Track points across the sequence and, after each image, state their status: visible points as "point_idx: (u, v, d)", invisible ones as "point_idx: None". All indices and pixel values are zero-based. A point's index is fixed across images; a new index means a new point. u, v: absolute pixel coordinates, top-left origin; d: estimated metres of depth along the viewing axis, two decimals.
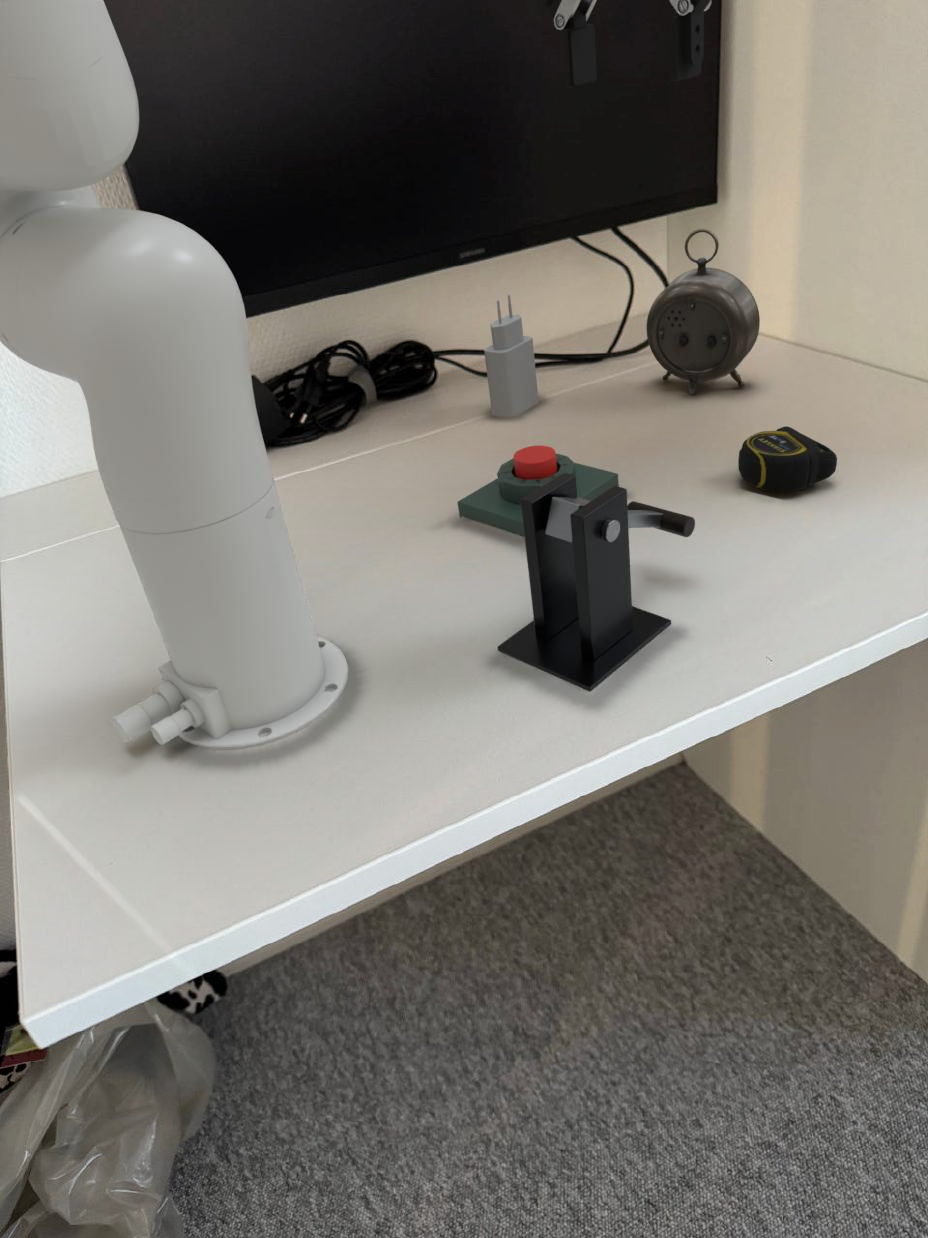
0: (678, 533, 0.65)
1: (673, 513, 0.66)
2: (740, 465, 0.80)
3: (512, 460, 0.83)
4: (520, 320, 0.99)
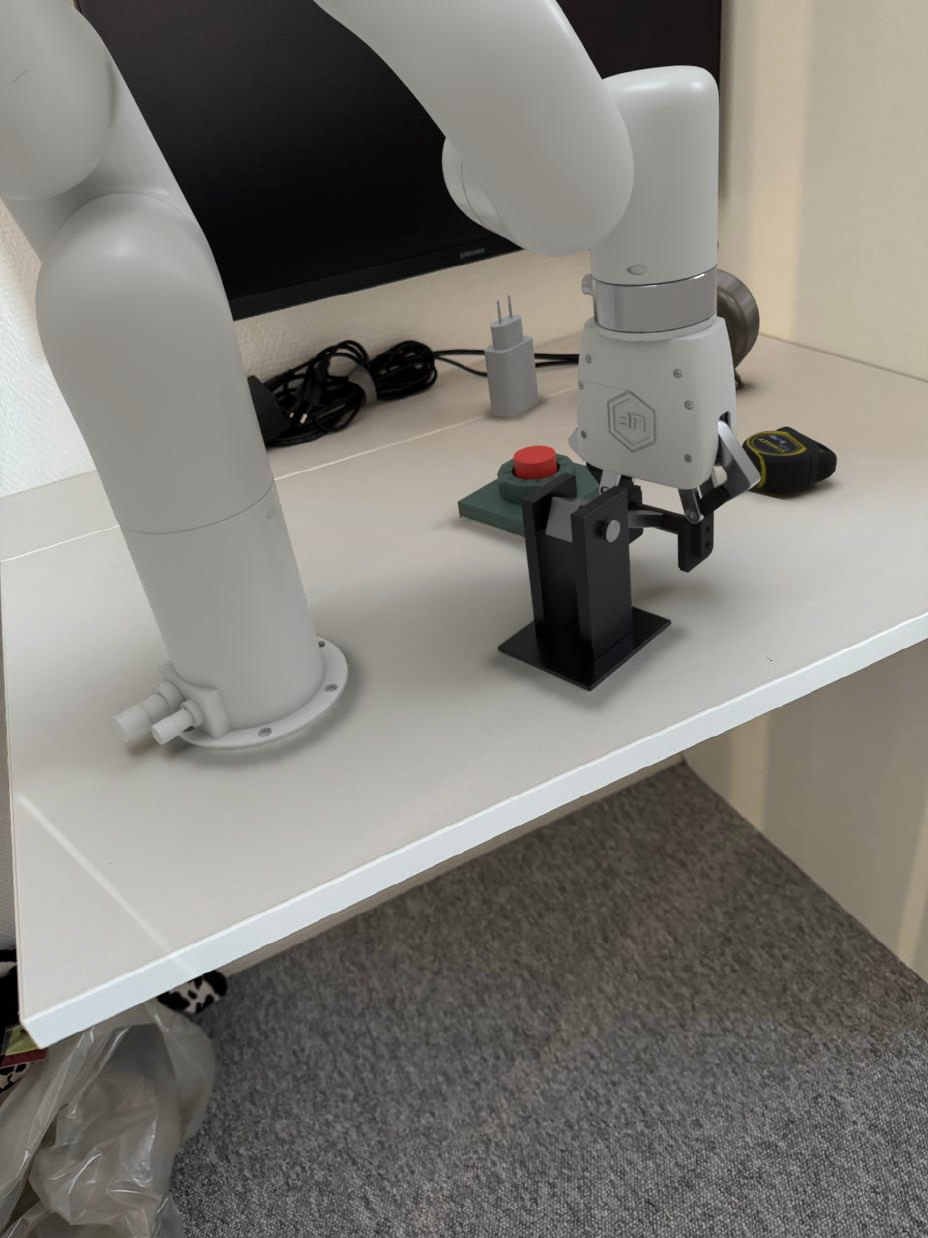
0: None
1: (673, 513, 0.66)
2: None
3: (512, 460, 0.83)
4: (520, 320, 0.99)
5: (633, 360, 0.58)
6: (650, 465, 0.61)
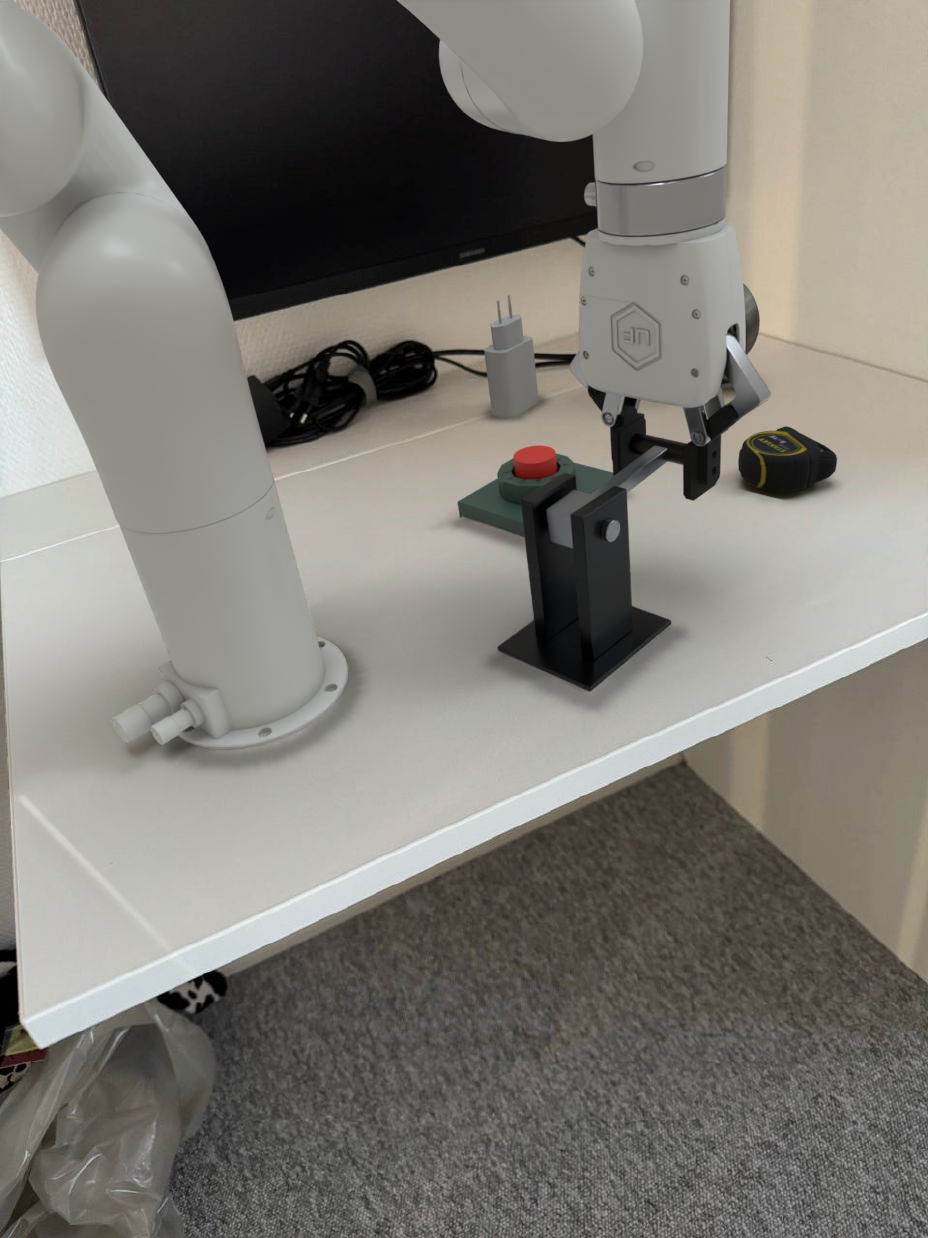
0: None
1: (677, 446, 0.63)
2: (740, 465, 0.80)
3: (512, 460, 0.83)
4: (520, 320, 0.99)
5: (638, 269, 0.56)
6: (655, 383, 0.59)
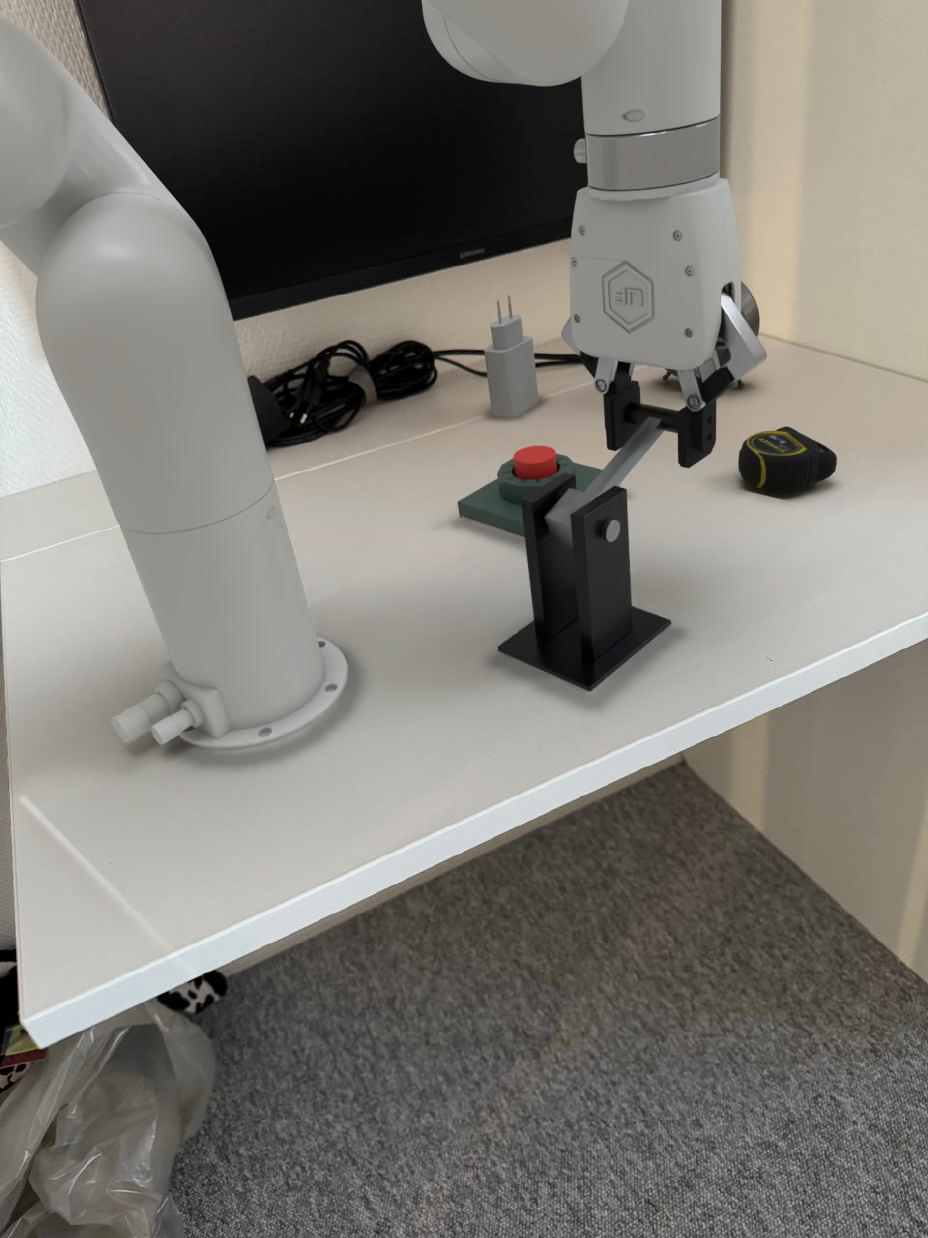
0: None
1: (671, 416, 0.62)
2: (740, 465, 0.80)
3: (512, 460, 0.83)
4: (520, 320, 0.99)
5: (629, 226, 0.54)
6: (648, 345, 0.57)
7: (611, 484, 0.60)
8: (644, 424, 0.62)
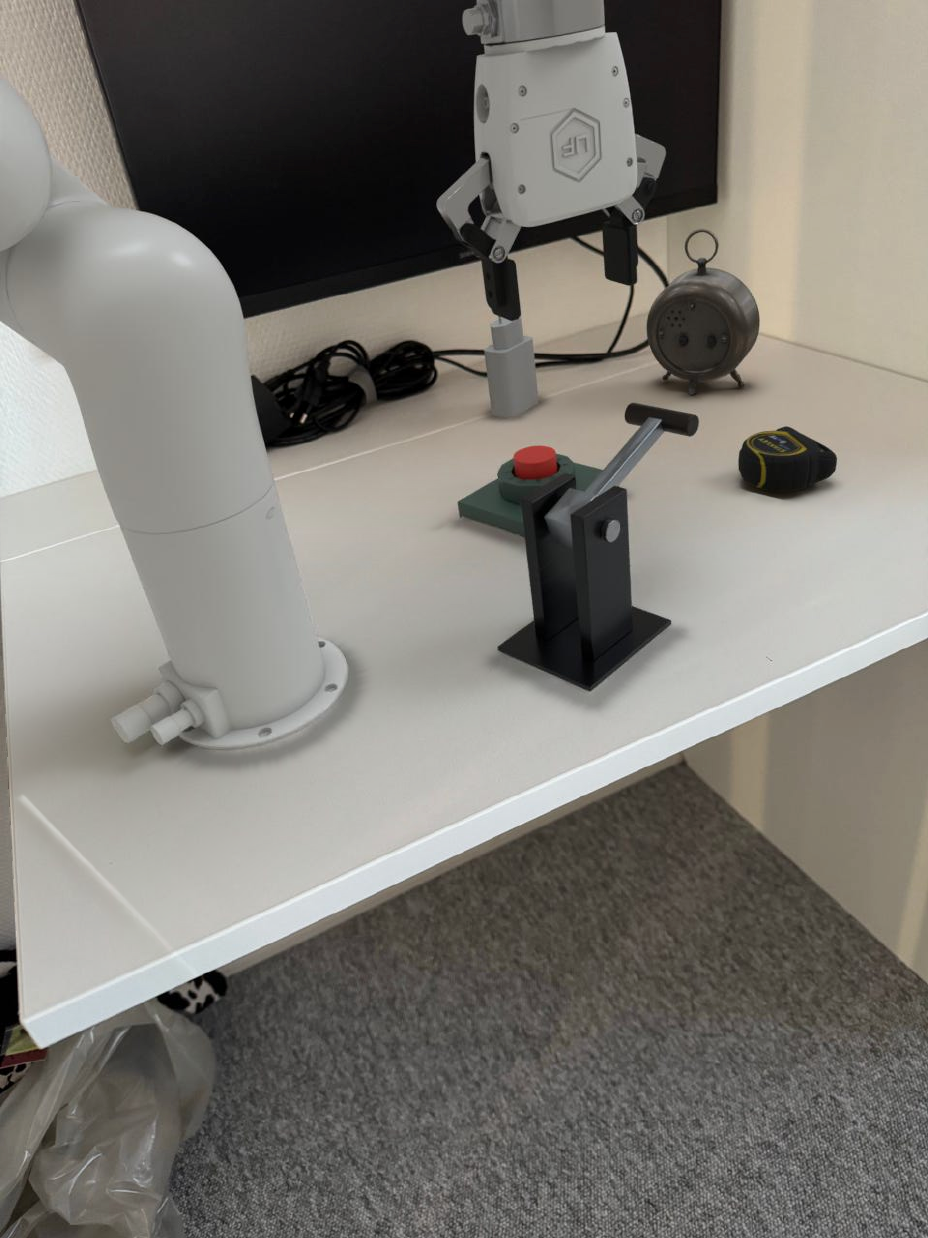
0: (684, 435, 0.62)
1: (671, 416, 0.62)
2: (740, 465, 0.80)
3: (512, 460, 0.83)
4: (520, 320, 0.99)
5: (574, 71, 0.58)
6: (597, 187, 0.62)
7: (611, 484, 0.60)
8: (644, 425, 0.62)
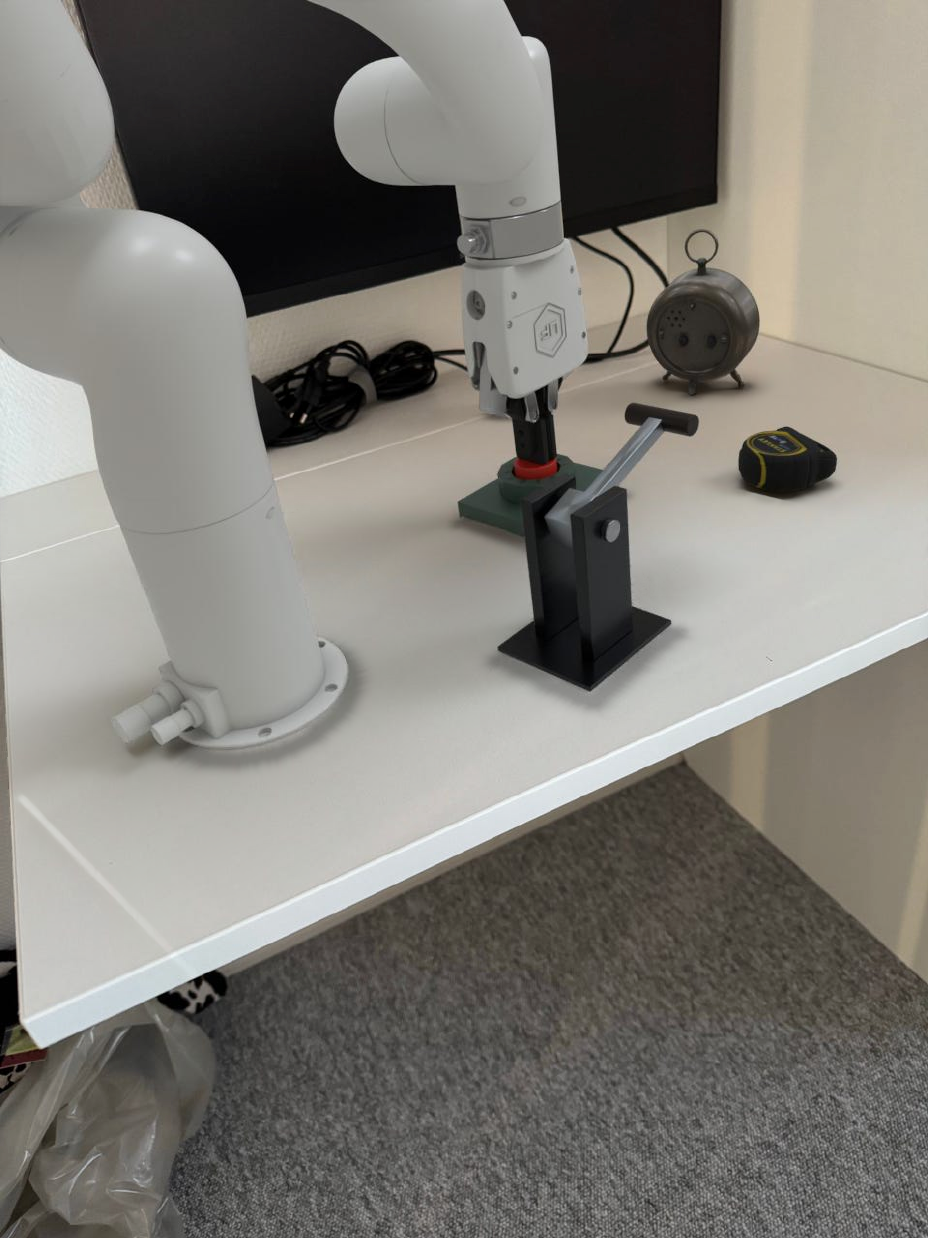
0: (684, 435, 0.62)
1: (671, 416, 0.62)
2: (740, 465, 0.80)
3: (512, 460, 0.83)
4: None
5: (547, 275, 0.70)
6: (564, 359, 0.75)
7: (611, 484, 0.60)
8: (644, 425, 0.62)
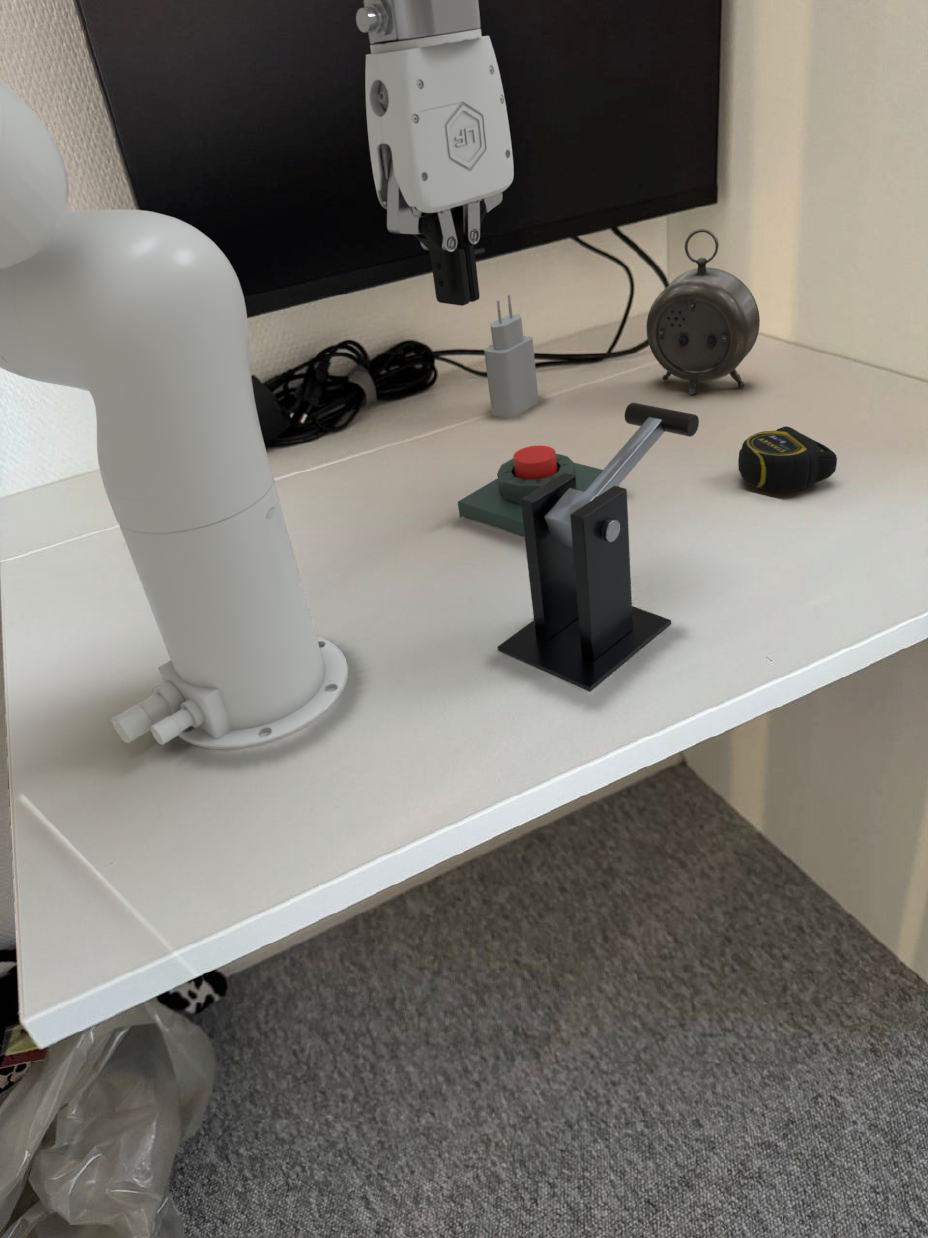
0: (684, 435, 0.62)
1: (671, 416, 0.62)
2: (740, 465, 0.80)
3: (512, 460, 0.83)
4: (520, 320, 0.99)
5: (461, 68, 0.63)
6: (484, 176, 0.67)
7: (611, 484, 0.60)
8: (644, 425, 0.62)
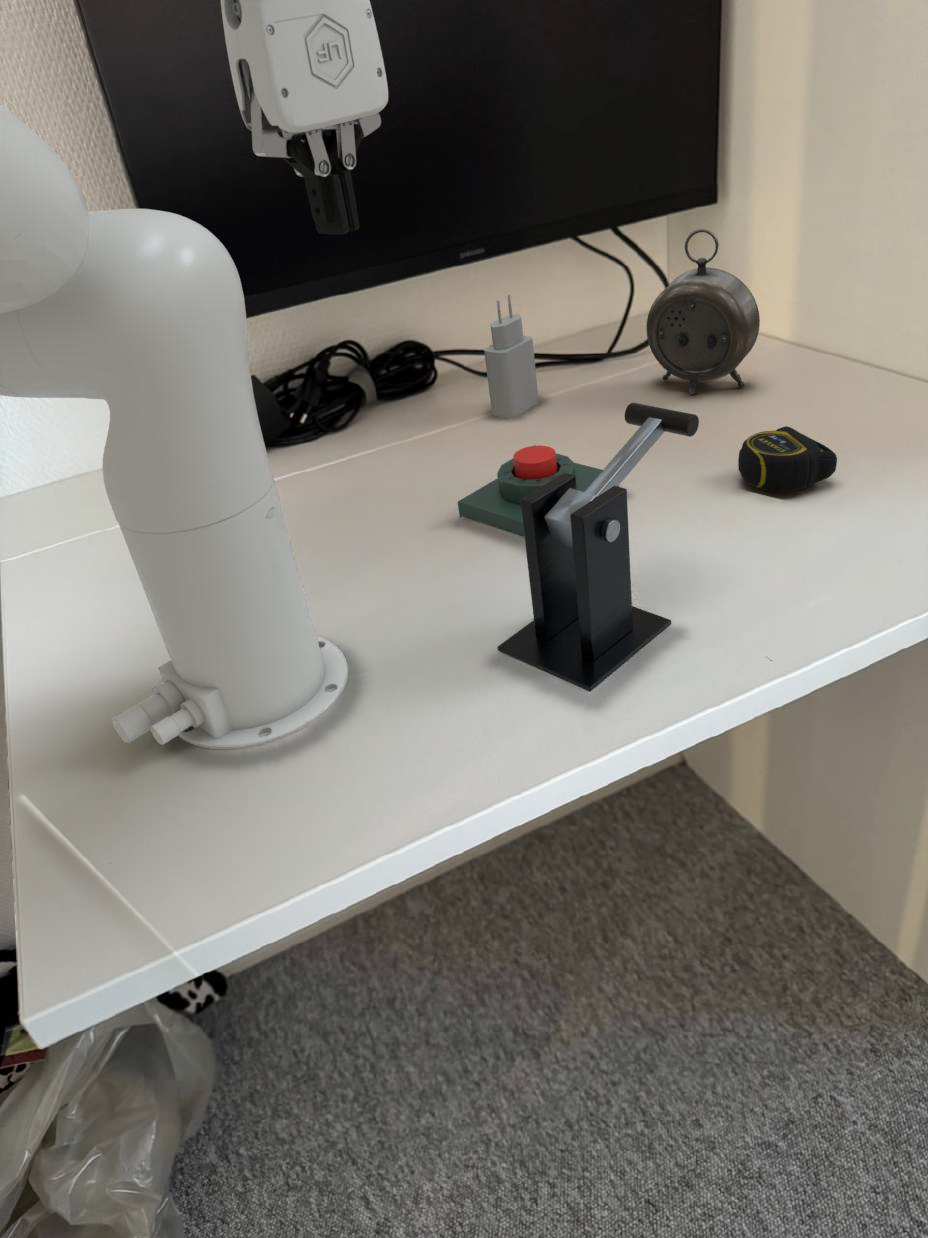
0: (684, 435, 0.62)
1: (671, 416, 0.62)
2: (740, 465, 0.80)
3: (512, 460, 0.83)
4: (520, 320, 0.99)
5: None
6: (354, 95, 0.64)
7: (611, 484, 0.60)
8: (644, 425, 0.62)
